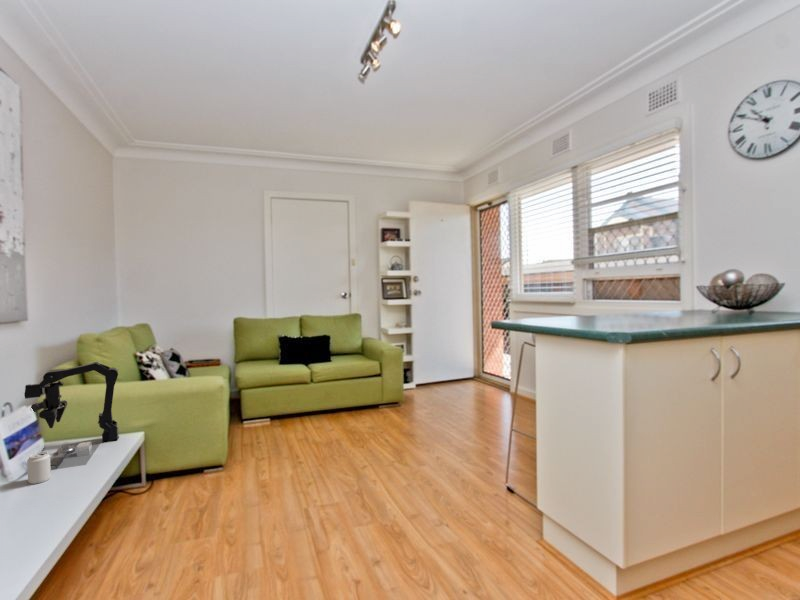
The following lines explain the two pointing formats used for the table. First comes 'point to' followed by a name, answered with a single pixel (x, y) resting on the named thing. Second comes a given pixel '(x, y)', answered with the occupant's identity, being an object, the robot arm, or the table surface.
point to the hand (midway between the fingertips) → (54, 425)
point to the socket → (84, 448)
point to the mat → (75, 458)
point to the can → (39, 467)
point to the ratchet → (61, 455)
